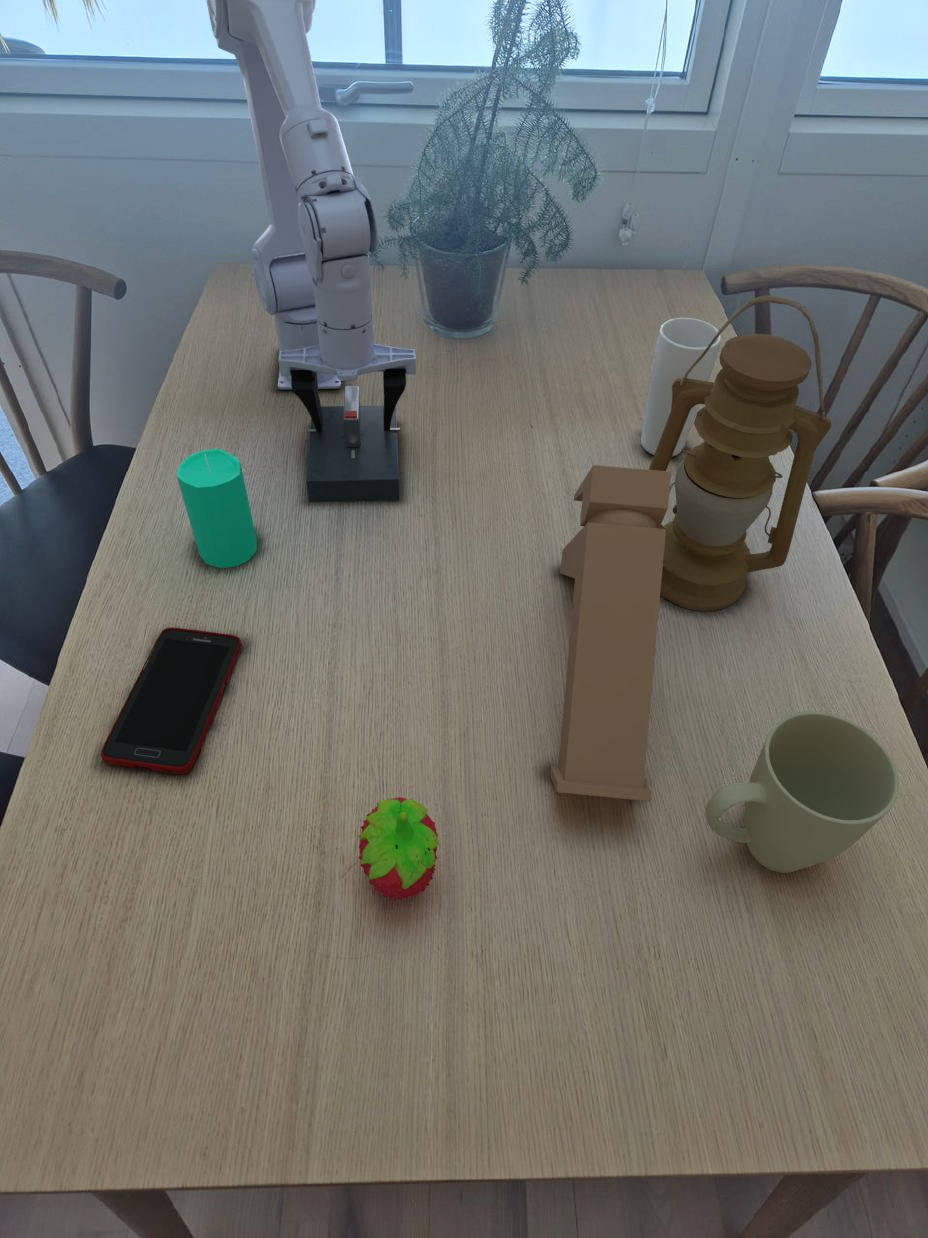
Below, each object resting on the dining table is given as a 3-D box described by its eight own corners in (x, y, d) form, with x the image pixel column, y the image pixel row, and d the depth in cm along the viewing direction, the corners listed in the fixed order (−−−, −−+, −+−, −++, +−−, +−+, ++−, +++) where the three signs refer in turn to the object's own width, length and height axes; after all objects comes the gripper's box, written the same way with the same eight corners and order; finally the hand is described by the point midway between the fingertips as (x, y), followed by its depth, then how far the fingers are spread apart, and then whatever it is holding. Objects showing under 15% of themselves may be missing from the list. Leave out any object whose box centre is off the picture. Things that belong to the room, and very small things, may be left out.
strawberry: (437, 831, 66) (439, 764, 58) (438, 923, 61) (439, 863, 53) (364, 831, 65) (356, 764, 58) (359, 924, 60) (349, 864, 53)
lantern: (764, 549, 89) (878, 278, 66) (773, 621, 82) (904, 345, 59) (623, 531, 90) (689, 259, 67) (621, 600, 83) (693, 322, 61)
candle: (226, 576, 83) (201, 483, 74) (186, 550, 86) (158, 457, 77) (269, 545, 87) (251, 451, 78) (230, 520, 89) (208, 427, 80)
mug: (740, 768, 70) (786, 683, 61) (852, 838, 66) (918, 758, 57) (676, 861, 65) (716, 782, 56) (795, 943, 61) (858, 872, 52)
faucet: (607, 754, 85) (629, 512, 85) (651, 801, 62) (680, 470, 62) (538, 747, 85) (560, 506, 85) (556, 792, 62) (586, 462, 62)
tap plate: (311, 425, 101) (309, 403, 98) (399, 424, 102) (398, 402, 99) (305, 502, 91) (302, 479, 89) (402, 500, 92) (401, 477, 90)
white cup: (693, 464, 98) (728, 350, 87) (636, 462, 98) (664, 347, 87) (684, 430, 103) (716, 317, 91) (630, 428, 103) (655, 315, 91)
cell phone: (99, 764, 68) (96, 758, 68) (165, 631, 78) (163, 625, 77) (190, 777, 68) (187, 771, 67) (245, 642, 78) (243, 635, 77)
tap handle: (347, 413, 97) (344, 383, 94) (360, 413, 98) (358, 383, 95) (346, 447, 93) (343, 417, 90) (360, 447, 93) (358, 416, 90)
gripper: (270, 336, 82) (287, 449, 92) (416, 335, 83) (417, 446, 93) (275, 301, 86) (291, 412, 96) (413, 300, 87) (415, 410, 98)
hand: (353, 426), depth 95 cm, fingers open, 7 cm apart
